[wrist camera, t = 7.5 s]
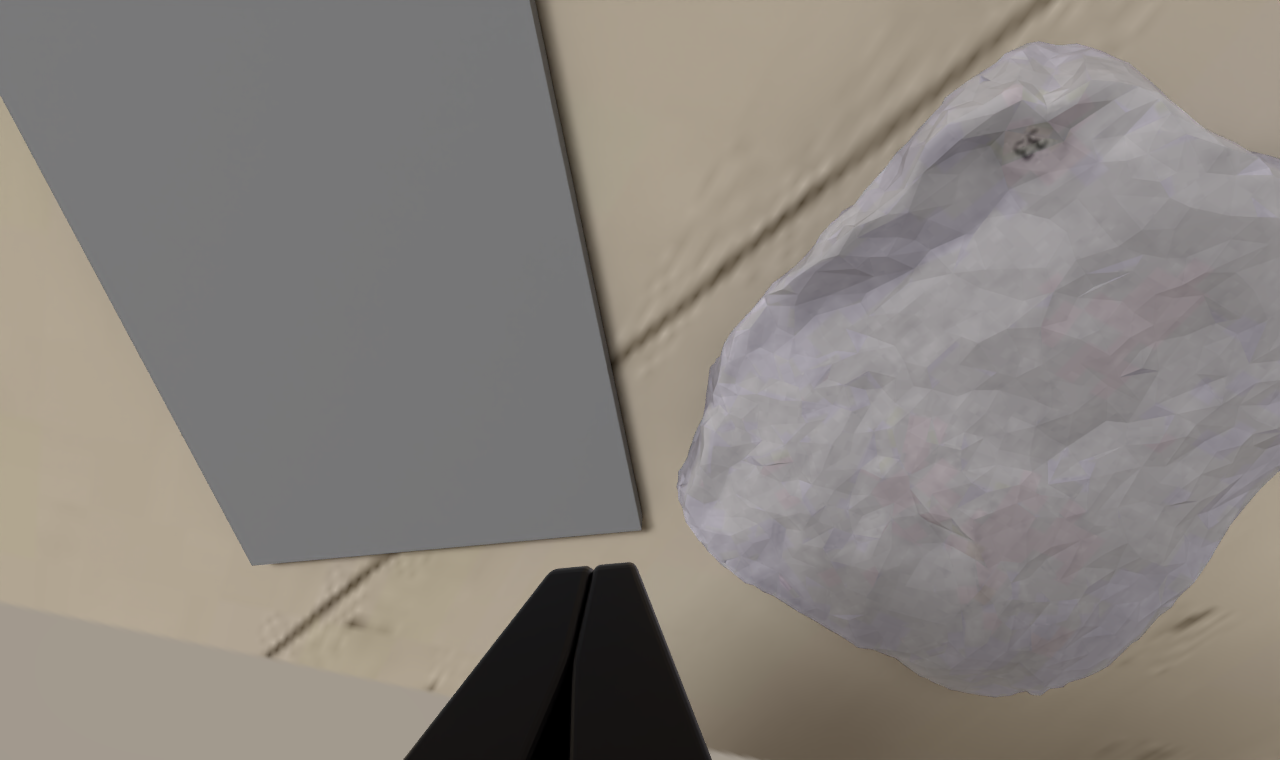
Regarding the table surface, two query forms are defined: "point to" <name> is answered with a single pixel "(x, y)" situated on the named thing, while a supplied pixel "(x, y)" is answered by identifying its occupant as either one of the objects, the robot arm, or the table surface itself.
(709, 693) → the table surface
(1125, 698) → the table surface
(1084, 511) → the stone block
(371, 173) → the mat
